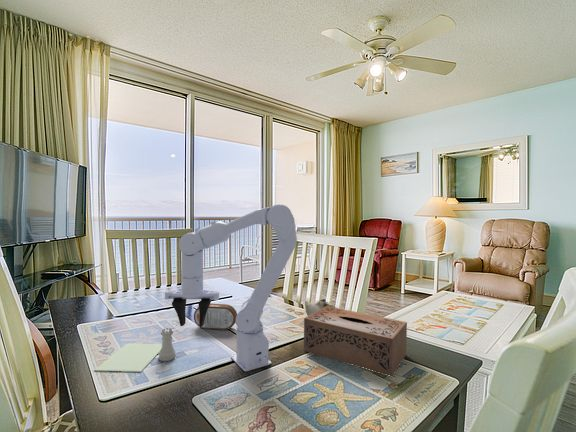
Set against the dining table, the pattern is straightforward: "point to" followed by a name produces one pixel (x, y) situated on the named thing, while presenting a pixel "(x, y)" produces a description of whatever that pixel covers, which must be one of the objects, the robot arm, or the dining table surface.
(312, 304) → the ceramic sculpture
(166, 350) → the rook chess piece
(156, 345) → the mat
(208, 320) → the tin
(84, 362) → the dining table surface
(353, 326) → the tissue box cover
